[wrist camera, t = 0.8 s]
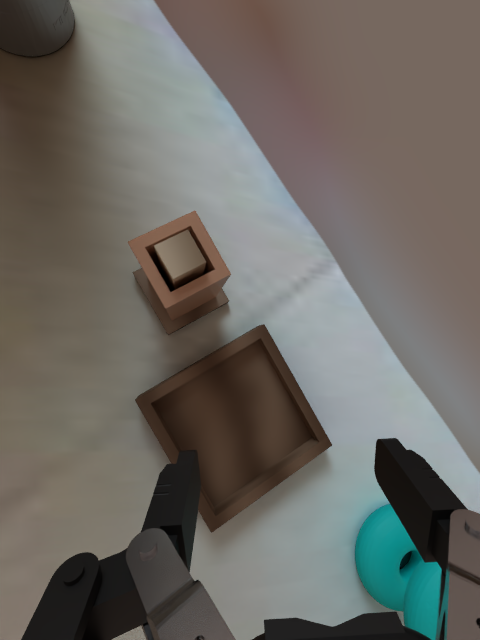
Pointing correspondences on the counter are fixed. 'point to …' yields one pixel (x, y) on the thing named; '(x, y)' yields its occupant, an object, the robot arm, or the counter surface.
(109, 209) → the counter surface
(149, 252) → the sleeve
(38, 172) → the counter surface
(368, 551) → the donuts
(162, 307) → the post
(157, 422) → the tray
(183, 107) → the counter surface
